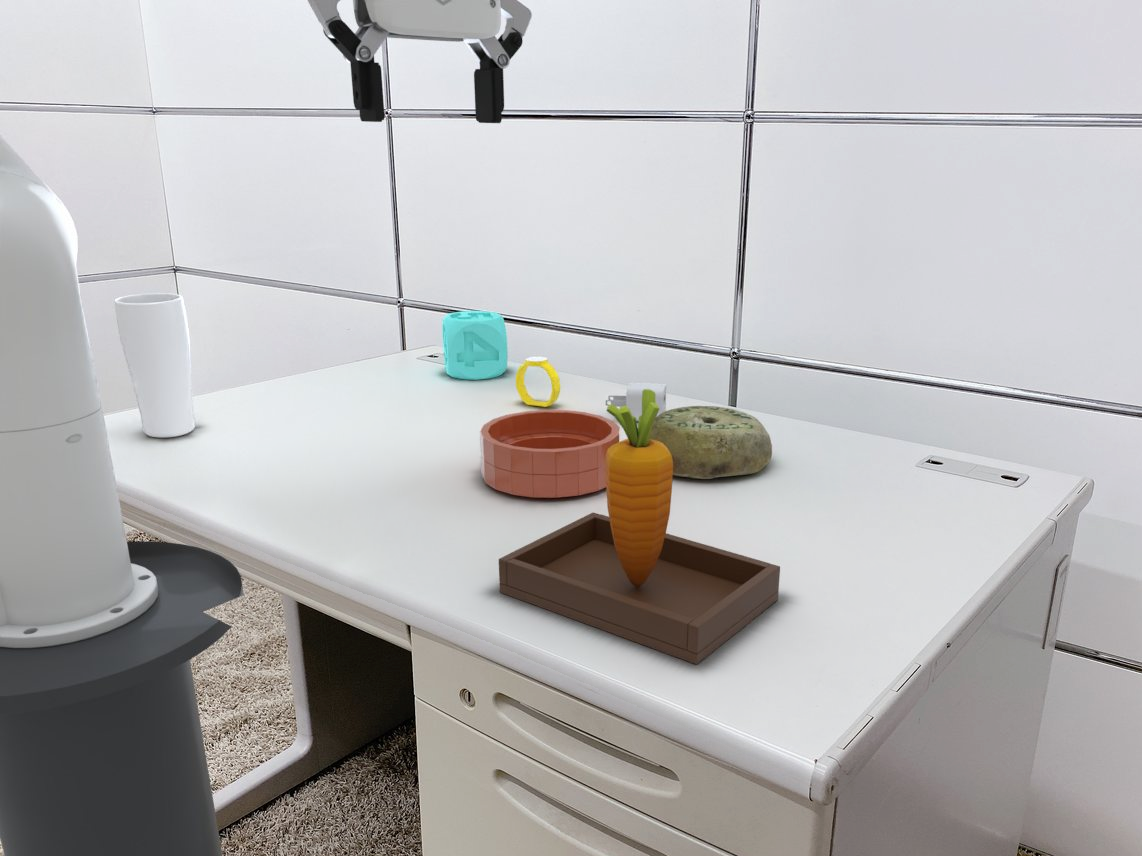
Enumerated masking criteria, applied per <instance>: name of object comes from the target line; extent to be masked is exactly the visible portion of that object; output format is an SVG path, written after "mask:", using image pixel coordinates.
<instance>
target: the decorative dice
mask: <svg viewBox="0 0 1142 856" xmlns="http://www.w3.org/2000/svg"><path fill="white" fill-rule="evenodd" d="M441 324H442V325H441V334H442V348H443V349H442V351H443V359H444V360H443V361H444V366H445V371H446V374H447V375H448V376H449V377H451V378H455V379H459V380H468V381H469V380H470V381H473V380H474V381H476V380H489V379H495V378H497V377H500V376H502V375H504V373H505V372H506V370H507V369H508V357H509V356H508V337H507V328H506V323H505V319H504V317H503V315H502V314H500V313H498V312H494V311H488V310H462V311H455V312H450V313H448V314H446V315H445V316H444V317H443V318H442V323H441Z"/></svg>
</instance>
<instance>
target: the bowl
mask: <svg viewBox="0 0 1142 856" xmlns="http://www.w3.org/2000/svg"><path fill="white" fill-rule="evenodd" d="M620 427H621V426H619V424H617V423H616V422H615V421H614V420H612V419H610V418H608V417H605V416H602V415H598V414H595V413H591V412H586V411H577V410H569V409H538V410H526V411H521V412H514V413H509V414H505V415H502V416H499V417H495V418H493V419H491V420H489V421H488V422H486V423H484V424H483V425H481V428H480V430H479V449H480V451H479V452H480V470H481V477H482V479H483V482H484V483H485V484H486V485H488V486H489V487H491V488H493V489H494V490H496V491H499V492H503V493H506V494H510V495H513V496H520V497H526V498H542V499H543V498H549V499H551V498H552V499H553V498H556V499H558V498H566V497H575V496H577V497H578V496H583V495H586V494H590V493H594V492H598V491H601V490H603V489H606V453H607V450H608V449H609V448H610V447H611V446H612V445H613V444H616V443H618V442H620V441H621V439H620V435H621V434H620V433H621V429H620Z"/></svg>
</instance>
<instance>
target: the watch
mask: <svg viewBox="0 0 1142 856" xmlns="http://www.w3.org/2000/svg"><path fill="white" fill-rule="evenodd" d="M529 367H540V368H541V369H543V370H544V371H545V372H546V374H547V375H548V377H549V379H550V383H551V384H550V385H551V394H550V397H549V399H548V400H546V401H540V400H535V399H533V397H532V396H531V395H530V394H529V393H528V390H527V388H526V385H525V374H526V372H527V369H528V368H529ZM515 387H516V391H517V393H518V396H519V397H520V399H521V400H522V401H523V402H524V403H525V404H526V405H527V406H535V407H542V408H546V407H550V406H552V405H553V404H554V403H555V402H556V401H557V400H558V398H559V396H560V392H561V388H562V387H561V381H560V377H559V374H558V372H557V371H556V369H555V367H554V366H553V365H552V364H550V363H549V360H548V357H546V356H530V357H526V358H525V359H524V363H522V364H521V365H520V366H519V367H518V370H517V372H516V373H515Z"/></svg>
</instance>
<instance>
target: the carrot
mask: <svg viewBox="0 0 1142 856" xmlns="http://www.w3.org/2000/svg"><path fill="white" fill-rule="evenodd" d="M608 405H609V406H606V407H607V408H606V410H605V411H606V412H607V413H608V414H610V415H611V416H613V417H614V419H616V421H618V423H619V425H620V427H621V428H622V429H623V431H624V433H625V435H626V437H627V438H626V439H623V440H620V442H618V443H616V444H613V445H612V446H611V447H610V448H609V449H608V450H607V453H606V487H605V489H606V503H607V505H606V506H607V513H608V517H609V519H610V525H611V530H612V535H613V540H614V545H615V548H616V551H617V554H618V556H619V559H620V562H621V564H622V567H623V569H624V571H625V573H626V575H627V577H628V579H629V581H630V583H632V584H633V585H634V586H635V587H640V586H641V585H642V584H643V583H644V582H645V581H646V580H647V578H648V576H649V575H650V573H651V571H652V570H653V568H654V566H655V564H656V562H657V560H658V557H659V555H660V553H661V550H662V546H663V542H664V538H665V534H666V533H667V530H668V525H669V519H670V515H671V503H672V492H673V476H674V475H673V459H672V456H671V454H670V452H669V450H668V449H667V447H666V446H665V445H664V444H663V443H661V442H659V441H656V440H651V439H650V434H651V429H652V425H653V422H654V420H655V418H656V416H657V413H658V411H659V409H660V408H659V407H658V405H657V404H656V403H655V392H653V391H652V390H650V389H644V390H643V391H642V415H641V416H639V421H636V418H635V417H634V416H632V414H631V411H630V409H629V408H628V406H622V407H615V406H614V405H612V404H611V403H610V404H608Z"/></svg>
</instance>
